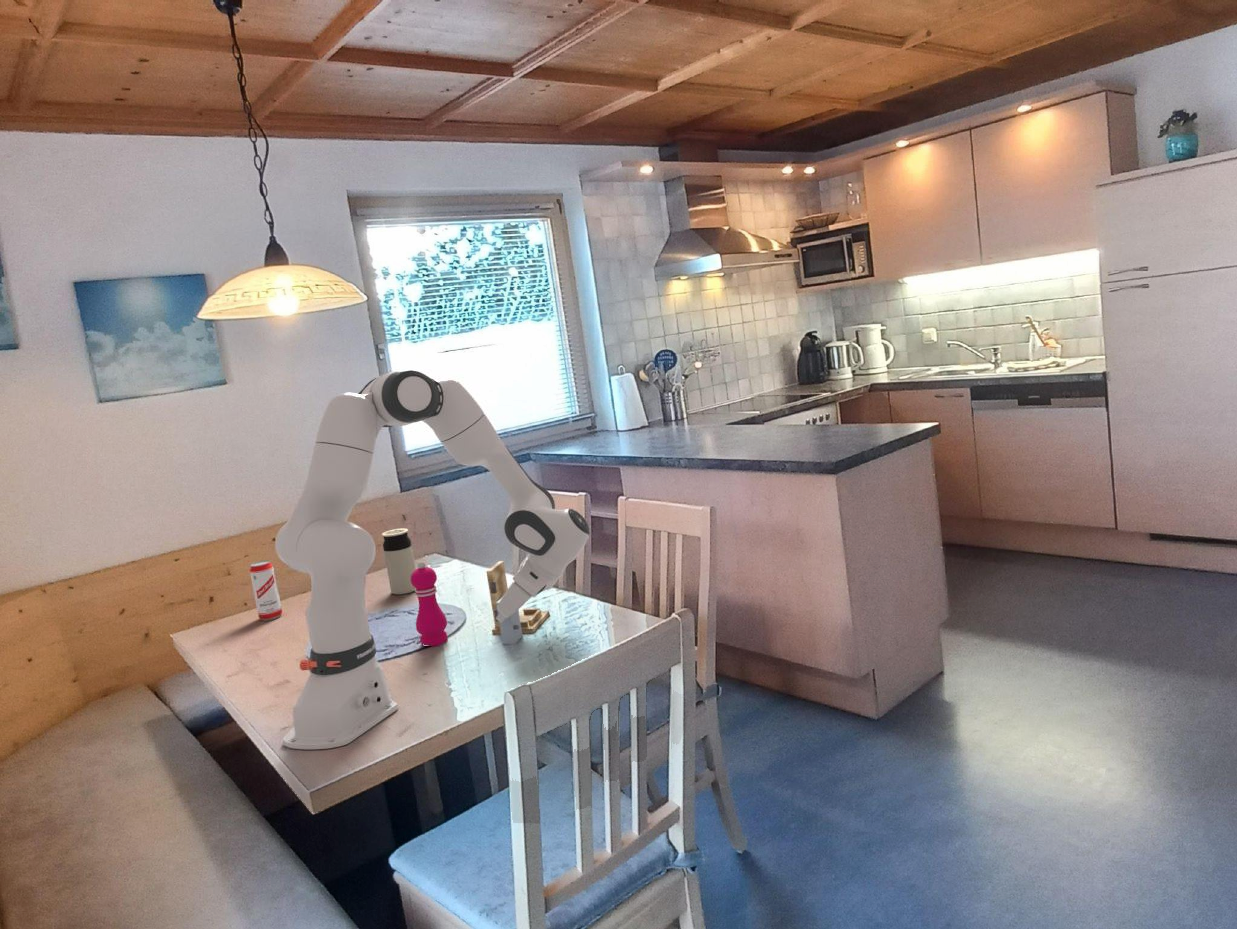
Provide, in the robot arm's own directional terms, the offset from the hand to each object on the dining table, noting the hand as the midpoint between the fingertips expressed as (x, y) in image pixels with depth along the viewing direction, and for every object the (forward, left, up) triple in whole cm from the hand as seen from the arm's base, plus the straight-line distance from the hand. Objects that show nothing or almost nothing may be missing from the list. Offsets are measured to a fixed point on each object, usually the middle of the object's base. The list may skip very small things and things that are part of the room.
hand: (505, 613), depth 192 cm
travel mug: (+41, +49, -7) cm, 65 cm away
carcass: (+10, 0, -6) cm, 12 cm away
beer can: (+22, +81, -7) cm, 85 cm away
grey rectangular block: (0, -1, -6) cm, 6 cm away
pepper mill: (0, +19, -7) cm, 20 cm away
